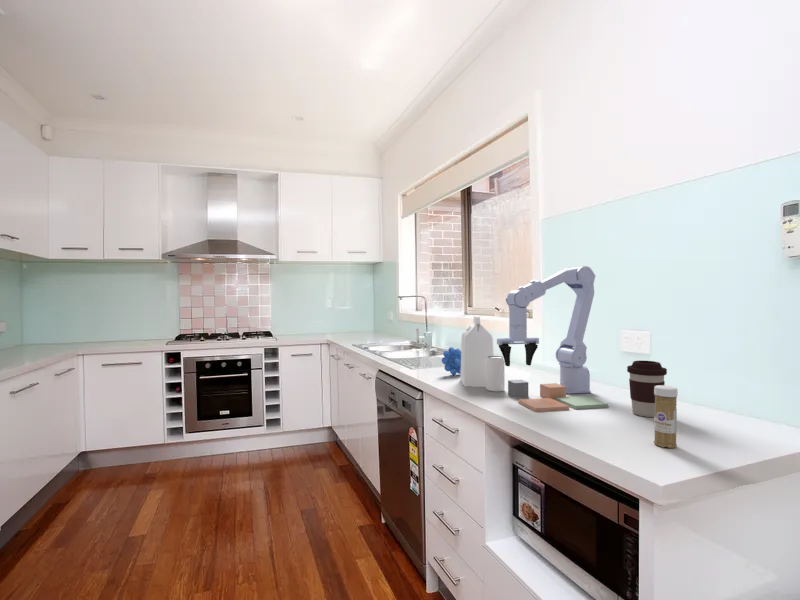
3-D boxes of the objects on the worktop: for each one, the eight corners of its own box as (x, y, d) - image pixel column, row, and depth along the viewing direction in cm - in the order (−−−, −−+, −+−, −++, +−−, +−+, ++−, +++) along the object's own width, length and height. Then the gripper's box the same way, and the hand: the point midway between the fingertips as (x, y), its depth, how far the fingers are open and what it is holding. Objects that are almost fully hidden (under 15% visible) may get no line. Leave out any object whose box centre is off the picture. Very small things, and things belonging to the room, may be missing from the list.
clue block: (556, 394, 155) (556, 383, 155) (565, 398, 149) (565, 386, 149) (540, 395, 154) (539, 384, 154) (549, 399, 148) (549, 387, 148)
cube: (521, 393, 157) (521, 379, 157) (528, 397, 152) (528, 382, 152) (508, 394, 156) (508, 380, 156) (514, 397, 151) (514, 383, 151)
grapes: (446, 377, 187) (446, 348, 187) (439, 375, 194) (439, 347, 193) (471, 375, 192) (471, 347, 192) (462, 373, 198) (462, 345, 198)
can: (504, 392, 160) (504, 358, 159) (486, 391, 161) (485, 357, 161) (504, 388, 166) (504, 355, 166) (486, 387, 167) (486, 355, 167)
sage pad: (586, 398, 149) (586, 395, 149) (608, 407, 138) (608, 403, 138) (555, 400, 147) (555, 397, 147) (575, 409, 136) (575, 405, 136)
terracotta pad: (550, 401, 146) (550, 397, 146) (569, 409, 135) (569, 406, 135) (518, 402, 144) (518, 399, 144) (535, 411, 133) (535, 408, 133)
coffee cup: (670, 414, 130) (670, 361, 130) (661, 421, 123) (661, 365, 122) (633, 408, 137) (633, 358, 136) (622, 414, 129) (622, 362, 129)
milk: (495, 386, 170) (494, 317, 169) (464, 386, 170) (463, 317, 169) (489, 380, 182) (488, 315, 181) (460, 380, 182) (460, 315, 181)
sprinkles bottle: (652, 446, 103) (652, 387, 103) (656, 440, 106) (656, 383, 106) (675, 450, 100) (675, 389, 100) (678, 445, 104) (679, 386, 103)
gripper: (532, 324, 159) (532, 362, 159) (493, 325, 156) (493, 364, 157) (542, 325, 152) (542, 366, 153) (501, 326, 150) (501, 367, 150)
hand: (518, 365), depth 154 cm, fingers open, 7 cm apart
